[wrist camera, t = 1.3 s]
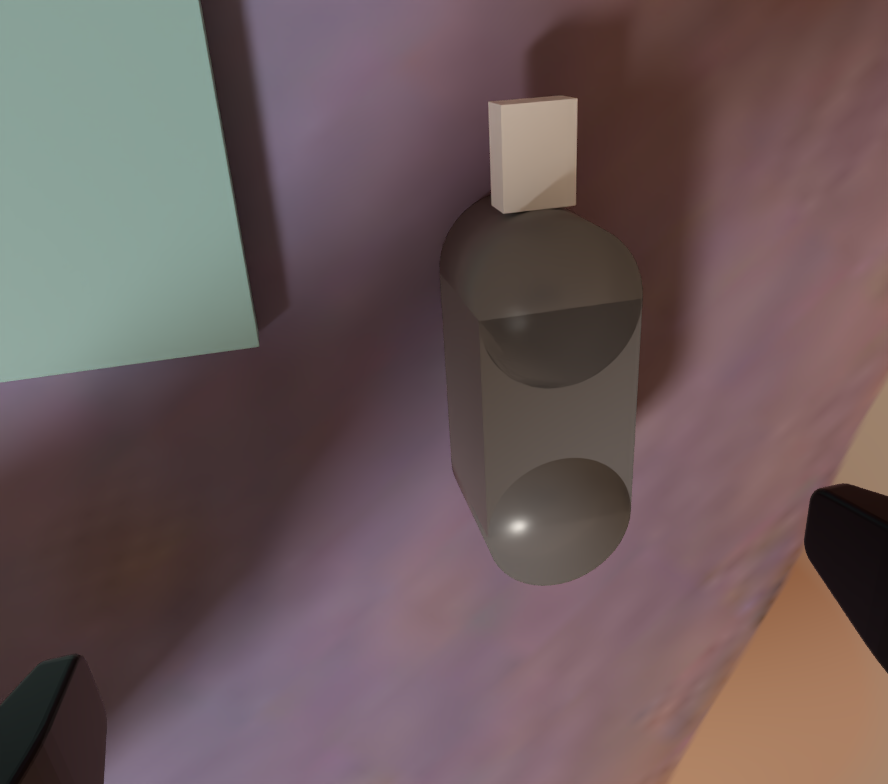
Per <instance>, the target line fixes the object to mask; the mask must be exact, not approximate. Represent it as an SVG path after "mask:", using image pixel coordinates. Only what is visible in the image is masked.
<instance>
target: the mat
mask: <svg viewBox="0 0 888 784" xmlns="http://www.w3.org/2000/svg"><path fill="white" fill-rule="evenodd" d="M253 347H259V332H258V327H257V321H256V315H255V310H254V304H253V298H252V292H251V287H250V281H249V275H248V270H247V264H246V258H245V252H244V247H243V241H242V235H241V230H240V224H239V218H238V212H237V207H236V201H235V195H234V190H233V184H232V178H231V172H230V167H229V161H228V155H227V150H226V144H225V138H224V132H223V127H222V121H221V115H220V110H219V104H218V98H217V92H216V87H215V81H214V75H213V70H212V64H211V58H210V52H209V47H208V41H207V35H206V30H205V24H204V18H203V12H202V7H201V1H200V0H0V382H7V381H15V380H22V379H29V378H36V377H44V376H51V375H58V374H65V373H72V372H80V371H87V370H94V369H101V368H109V367H116V366H123V365H130V364H137V363H145V362H152V361H159V360H166V359H174V358H181V357H188V356H195V355H203V354H210V353H217V352H224V351H231V350H239V349H246V348H253Z"/></svg>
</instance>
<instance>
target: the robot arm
mask: <svg viewBox="0 0 888 784" xmlns="http://www.w3.org/2000/svg"><path fill="white" fill-rule="evenodd" d="M804 545H805V550H806V553H807V556H808V558H809V560H810V561H811V563H812V564H813V566H814V568H815V569H816V571H817V572H818V574H819V575H820V576H821V578H822V579H823V581H824V583H825V584H826V585H827V587H828V589H829V590H830V591H831V593H832V594H833V596H834V598H835V599H836V600H837V602H838V603H839V605H840V606H841V608H842V610H843V611H844V612H845V614H846V616H847V617H848V618H849V620H850V621H851V623H852V624H853V626H854V627H855V629H856V630H857V632H858V633H859V635H860V636H861V638H862V639H863V641H864V642H865V644H866V645H867V647H868V648H869V649H870V651H871V652H872V654H873V655H874V656H875V658H876V659H877V660H878V662H879V663H880V664H881V666H882V667H883V668H884V669H885V671H886V672H887V673H888V496H885V495H882V494H879V493H876V492H872V491H869V490H866V489H863V488H860V487H857V486H854V485H850V484H837V485H832V486H828V487H823V488H819V489H817V490H816V491H814V493H813V494H812V496H811V498H810V503H809V510H808V517H807V523H806V530H805V537H804ZM106 733H107V718H106V711H105V707H104V704H103V701H102V699H101V696H100V694H99V691H98V689H97V686H96V684H95V681H94V679H93V676H92V674H91V671H90V669H89V666H88V664H87V662H86V660H85V659H84V657H83V656H81V655H79V654H71V655H67V656H62V657H57V658H53V659H48V660H45V661H43V662H41V663H39V664H38V665H37V666H36V667H35V668H34V669H33V670H32V671H31V672H30V673H29V674H28V675H27V677H26V678H25V679H24V680H23V681H22V682H21V683H20V684H19V685H18V686H17V687H16V688H15V689H14V691H13V692H12V693H11V694H10V695H9V696H8V697H7V698H6V699H5V700H4V701H3V702H2V704H1V705H0V784H104V769H105V751H106Z"/></svg>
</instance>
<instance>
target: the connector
mask: <svg viewBox="0 0 888 784" xmlns="http://www.w3.org/2000/svg"><path fill="white" fill-rule="evenodd" d="M577 101H578V98H573V97H568V96H563V95H559V96H547V97H536V98H524V99H512V100H501V101H489V102H488V109H489V141H490V172H491V195H489V196H487V197H485V198H483V199H481V200H479V201H478V202H476V203H474V204H473V205H472V206H470V207H469V208H468V209H467V210H466V211H464V212H463V214H462V215H461V216H460V217H459V218H458V219H457V220H456V222H455V223H454V224H453V226H452V227H451V229H450V231H449V233H448V235H447V237H446V239H445V242H444V244H443V248H442V251H441V257H440V288H441V304H442V319H443V335H444V351H445V367H446V383H447V399H448V414H449V430H450V446H451V462H452V469H453V473H454V476H455V479H456V481H457V483H458V485H459V487H460V489H461V491H462V493H463V496H464V498H465V500H466V502H467V504H468V506H469V508H470V510H471V512H472V515H473V517H474V519H475V521H476V523H477V525H478V527H479V529H480V531H481V534H482V536H483V538H484V540H485V542H486V544H487V546H488V548H489V550H490V553H491V555H492V557H493V559H494V561H495V562H496V564H497V565H498V566H499V568H500V569H501V570H502V571H503V572H504V573H506V574H507V575H509V576H510V577H512V578H514V579H515V580H517V581H520V582H523V583H526V584H531V585H541V586H545V585H556V584H561V583H565V582H569V581H572V580H574V579H577V578H579V577H581V576H583V575H585V574H587V573H589V572H590V571H592V570H594V569H595V568H596V567H598V566H599V565H600V564H602V563H603V562H604V561H605V560H606V559H607V558H608V557H609V556H610V555H611V554H612V553H613V551H614V550H615V549H616V548H617V546H618V545H619V543H620V542H621V540H622V538H623V536H624V534H625V532H626V529H627V527H628V523H629V519H630V512H631V497H632V479H633V461H634V444H635V426H636V408H637V390H638V372H639V355H640V337H641V319H642V301H643V287H642V280H641V275H640V272H639V268H638V266H637V264H636V261H635V259H634V257H633V256H632V254H631V253H630V251H629V250H628V248H627V247H626V246H625V245H624V244H623V243H622V242H621V241H620V240H619V239H618V238H616V237H615V236H614V235H612V234H611V233H609V232H607V231H606V230H604V229H602V228H600V227H598V226H597V225H595V224H593V223H591V222H589V221H587V220H586V219H584V218H582V217H580V216H578V215H576V214H575V213H573V212H571V211H569V210H567V209H565V208H564V207H567V206H576V164H577Z"/></svg>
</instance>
